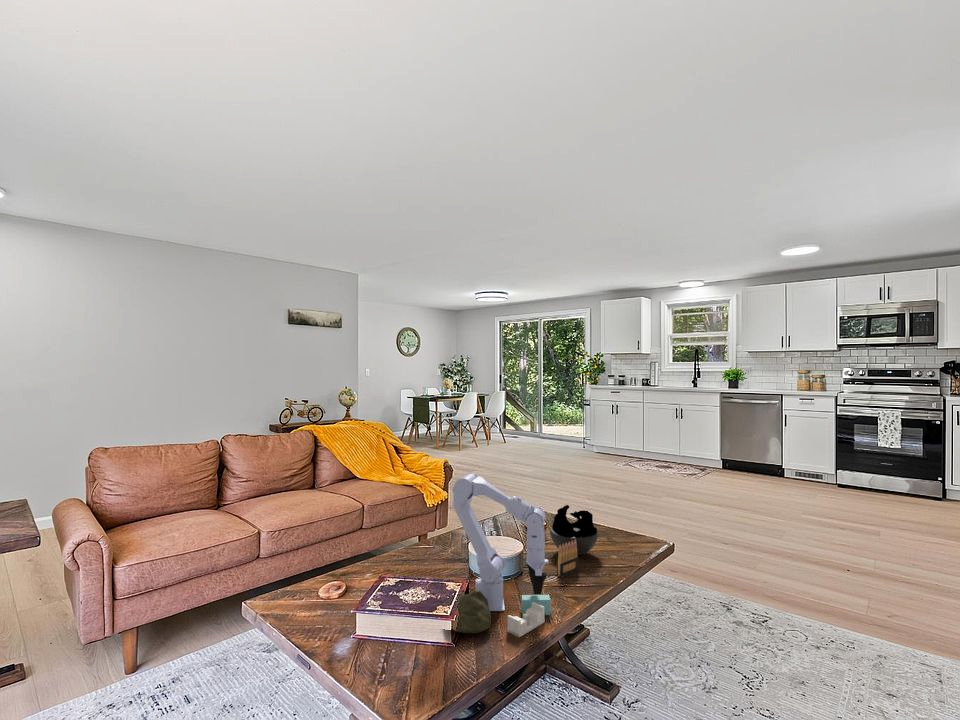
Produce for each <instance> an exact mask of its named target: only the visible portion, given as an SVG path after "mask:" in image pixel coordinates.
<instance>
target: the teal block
mask: <svg viewBox="0 0 960 720" xmlns="http://www.w3.org/2000/svg"><path fill="white" fill-rule="evenodd" d="M520 599H521V602H520V603H521V606H520V609H521V613H522V614H521V615H522V616H523V614H526V610H527V609H529V608H531V607H532V602H535V603H537V604H540V605H542V606H544V616H551V615H552V614H551V607H552V606H551V605H552V604H551V596H550V595H549V594H541V595H534V594H521V598H520Z"/></svg>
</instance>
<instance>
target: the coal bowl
mask: <svg viewBox="0 0 960 720" xmlns="http://www.w3.org/2000/svg"><path fill="white" fill-rule="evenodd" d="M569 509H570V505H569V504H565V505H563V507H560V508H558V509H557V510H556V512H557V513H556V514H555V515H554V518H553V523H552V526H551V527H550V528H549V534H550V538H551V541H552V542H553V544H554V546H555V547H556V548H557V549H558V550H559V546H560V545H561V548H562V545H563V543H564V546H565V543H566V542H567V545H568V542H569V541H570V545H571V541H572V540H573V544H574V540H575V539H576V543H577V557H578V556H581V555H585V554H587V553H589V551H591V550H592V549H593V547H594V546H595V545H596V543H597V541H598V537H599V531H598V529H597V527H596V526H594V521H593V513H591V512H590V511H589V510H579V511H573V512H569V515H570V516H572V517H573V518H575V519H577V520H576V521H575V522H570V521H569V520H568V519H567V514H568V513H567V512H568V510H569Z"/></svg>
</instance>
